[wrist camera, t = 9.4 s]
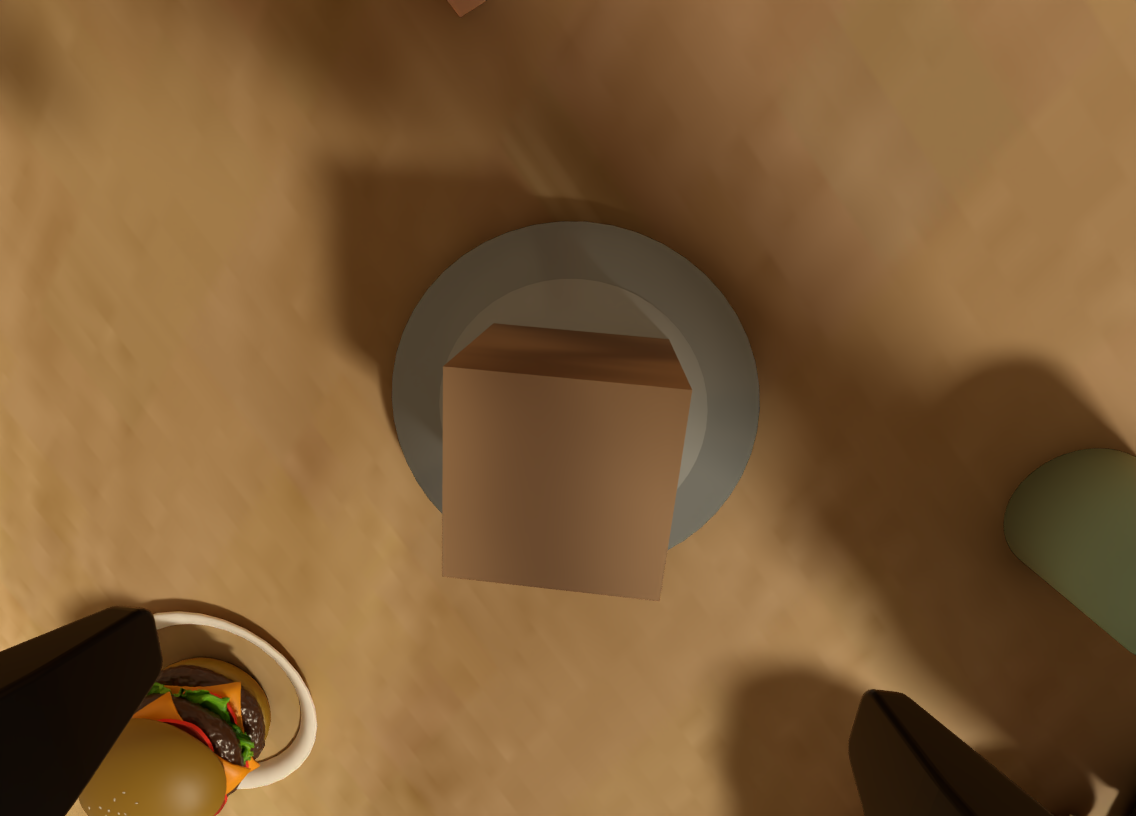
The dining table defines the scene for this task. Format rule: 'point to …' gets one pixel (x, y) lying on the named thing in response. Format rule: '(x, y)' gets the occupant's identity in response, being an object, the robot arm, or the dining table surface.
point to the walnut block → (562, 459)
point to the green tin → (1082, 534)
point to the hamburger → (197, 737)
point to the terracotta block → (464, 5)
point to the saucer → (592, 304)
